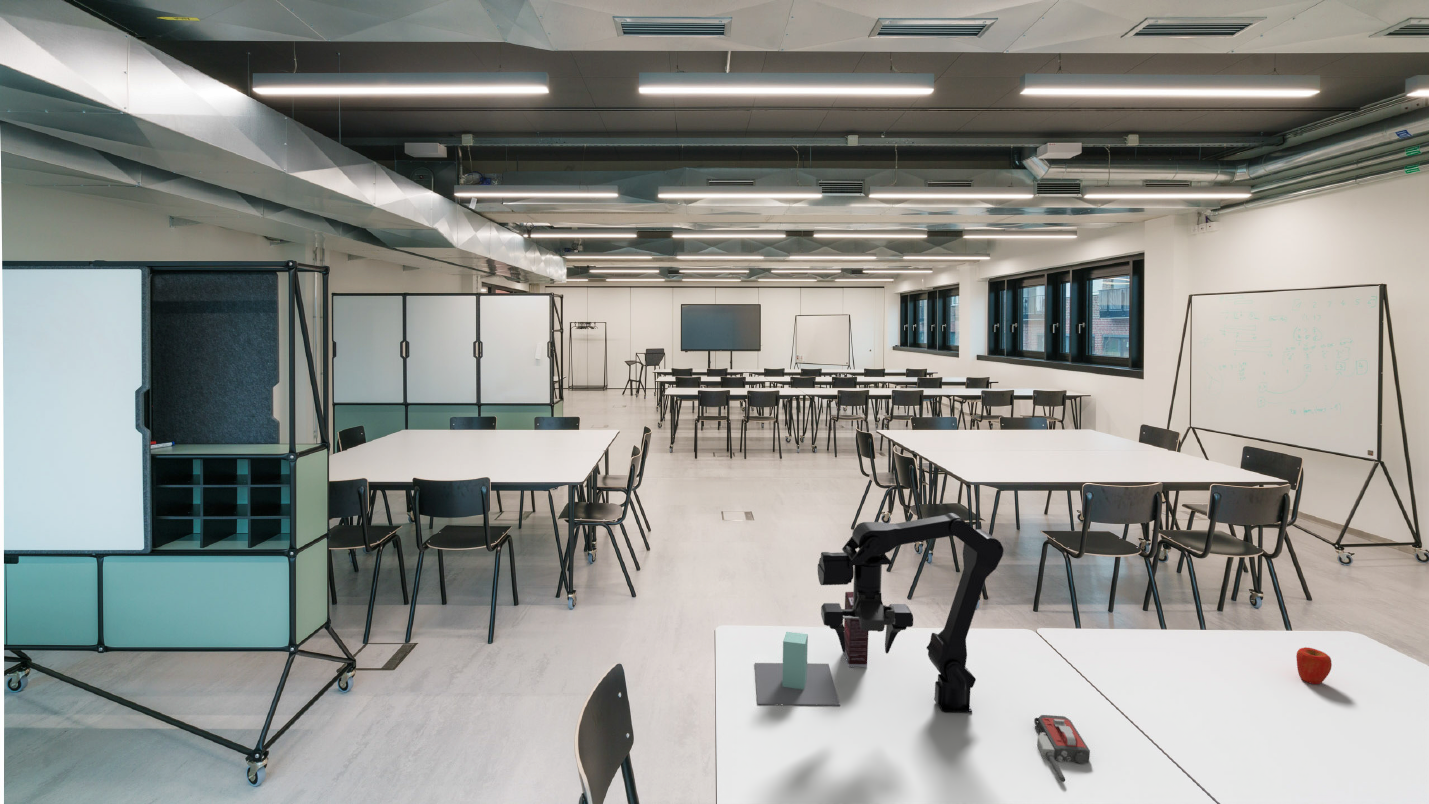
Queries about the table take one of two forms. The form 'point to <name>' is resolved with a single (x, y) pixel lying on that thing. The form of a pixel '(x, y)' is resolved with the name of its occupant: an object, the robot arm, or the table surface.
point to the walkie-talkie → (1060, 742)
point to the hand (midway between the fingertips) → (865, 652)
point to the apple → (1313, 665)
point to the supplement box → (854, 638)
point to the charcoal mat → (814, 693)
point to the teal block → (795, 660)
